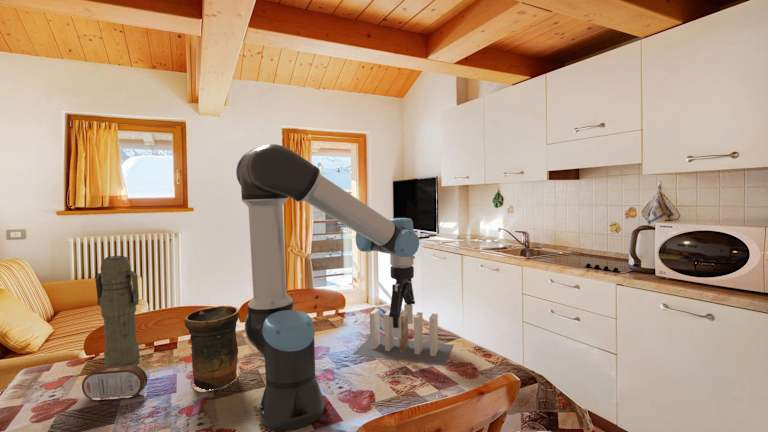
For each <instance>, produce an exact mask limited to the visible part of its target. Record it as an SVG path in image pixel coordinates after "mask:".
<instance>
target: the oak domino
mask: <svg viewBox="0 0 768 432" xmlns="http://www.w3.org/2000/svg"><path fill="white" fill-rule="evenodd" d="M400 317H401V338H398V339H399V349H400V352H402V353H405V351H406V350H407V348H408V340H409V324H408V312H407V311H403V310H402V311H401V313H400Z"/></svg>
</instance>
